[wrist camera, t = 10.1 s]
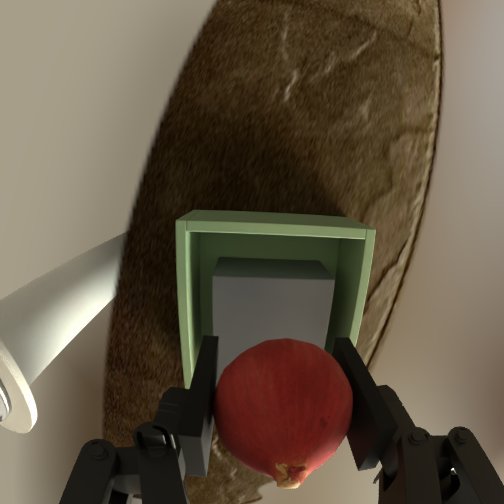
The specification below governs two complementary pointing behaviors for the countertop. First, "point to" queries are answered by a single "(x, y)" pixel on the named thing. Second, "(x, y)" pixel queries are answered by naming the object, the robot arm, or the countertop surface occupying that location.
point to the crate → (268, 247)
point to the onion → (283, 409)
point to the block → (269, 303)
